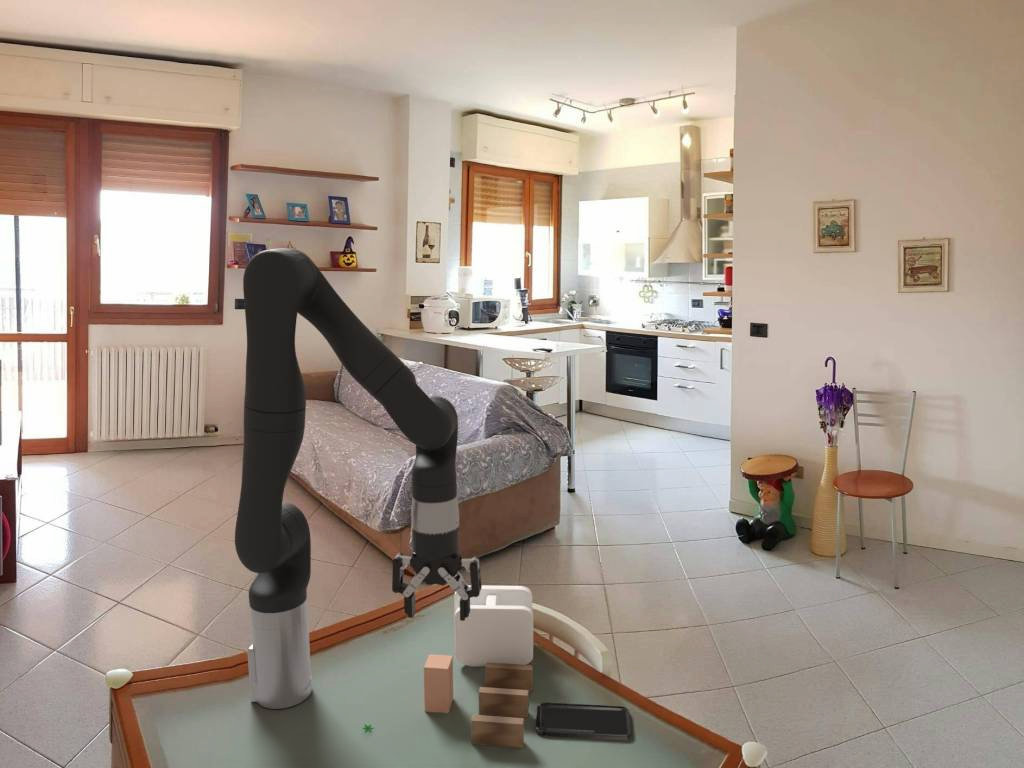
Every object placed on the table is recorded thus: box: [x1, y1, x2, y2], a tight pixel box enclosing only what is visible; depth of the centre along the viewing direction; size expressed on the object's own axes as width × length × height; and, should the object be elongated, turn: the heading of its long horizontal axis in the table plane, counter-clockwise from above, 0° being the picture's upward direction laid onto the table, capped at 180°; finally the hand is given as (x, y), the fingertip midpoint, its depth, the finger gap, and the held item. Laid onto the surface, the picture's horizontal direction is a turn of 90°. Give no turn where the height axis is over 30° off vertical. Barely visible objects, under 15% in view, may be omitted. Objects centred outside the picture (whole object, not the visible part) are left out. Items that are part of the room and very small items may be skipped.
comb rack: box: [470, 662, 534, 748], centre depth 127 cm, size 8×16×4 cm, turn 173°
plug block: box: [423, 654, 454, 714], centre depth 129 cm, size 4×4×8 cm
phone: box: [535, 701, 632, 741], centre depth 125 cm, size 8×1×15 cm
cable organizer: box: [453, 584, 534, 668], centre depth 145 cm, size 15×11×12 cm
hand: (437, 617), depth 126 cm, fingers open, 8 cm apart
